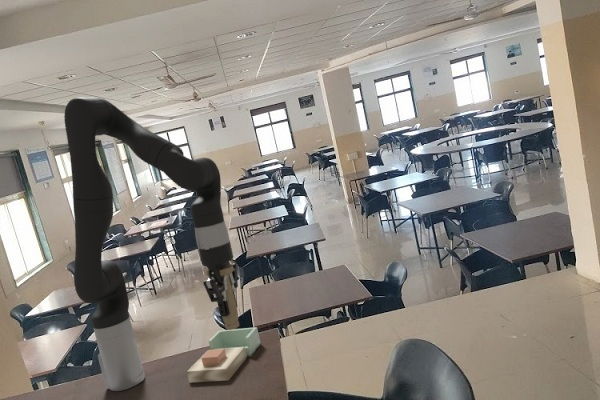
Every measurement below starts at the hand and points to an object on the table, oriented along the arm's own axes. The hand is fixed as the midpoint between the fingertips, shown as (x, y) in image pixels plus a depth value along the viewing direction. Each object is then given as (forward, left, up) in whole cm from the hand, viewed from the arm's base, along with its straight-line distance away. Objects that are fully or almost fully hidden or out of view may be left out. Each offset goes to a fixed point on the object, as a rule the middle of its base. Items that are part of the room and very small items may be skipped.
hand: (229, 311), depth 122 cm
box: (-9, +16, -17) cm, 26 cm away
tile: (-10, +5, -14) cm, 18 cm away
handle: (0, 0, -4) cm, 4 cm away
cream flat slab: (-10, +6, -17) cm, 21 cm away
